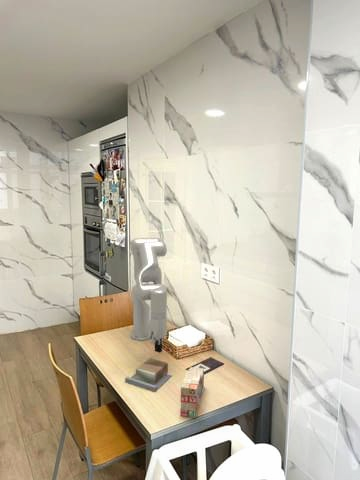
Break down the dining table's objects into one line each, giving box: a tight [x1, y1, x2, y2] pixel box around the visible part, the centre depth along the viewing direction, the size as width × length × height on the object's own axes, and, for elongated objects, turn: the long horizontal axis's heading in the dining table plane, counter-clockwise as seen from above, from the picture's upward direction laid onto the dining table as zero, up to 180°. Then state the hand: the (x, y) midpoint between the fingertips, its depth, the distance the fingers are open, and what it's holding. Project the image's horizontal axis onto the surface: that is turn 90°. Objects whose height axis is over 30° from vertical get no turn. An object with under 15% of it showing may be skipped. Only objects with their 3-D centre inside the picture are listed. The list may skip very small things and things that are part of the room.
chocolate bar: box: [185, 356, 225, 376], centre depth 171 cm, size 9×1×18 cm
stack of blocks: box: [179, 366, 205, 419], centre depth 142 cm, size 21×6×12 cm, turn 168°
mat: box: [124, 372, 173, 393], centre depth 159 cm, size 15×16×2 cm
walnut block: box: [135, 357, 169, 385], centre depth 161 cm, size 5×10×12 cm
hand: (158, 351), depth 164 cm, fingers closed
